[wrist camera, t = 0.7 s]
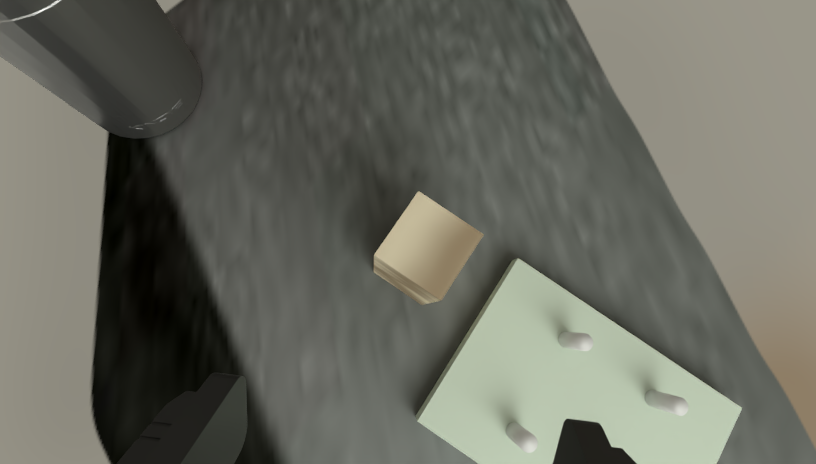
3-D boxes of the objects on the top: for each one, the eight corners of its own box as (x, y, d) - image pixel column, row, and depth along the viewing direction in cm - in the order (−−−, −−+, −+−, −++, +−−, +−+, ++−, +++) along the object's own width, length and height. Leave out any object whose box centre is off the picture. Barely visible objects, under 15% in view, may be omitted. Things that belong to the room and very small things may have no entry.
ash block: (373, 272, 35) (374, 254, 25) (405, 225, 36) (418, 190, 26) (421, 304, 35) (441, 300, 25) (452, 257, 35) (483, 234, 26)
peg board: (415, 416, 33) (421, 432, 29) (512, 260, 36) (531, 252, 31) (645, 576, 32) (689, 617, 28) (726, 404, 35) (777, 416, 31)
